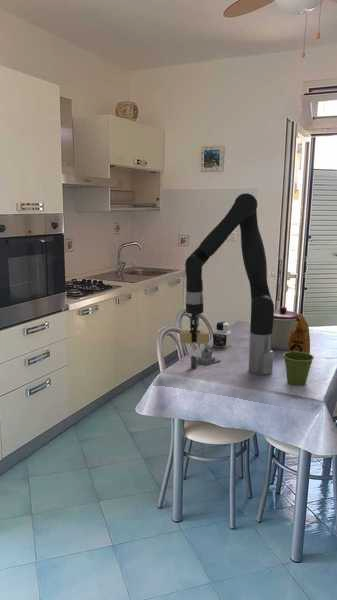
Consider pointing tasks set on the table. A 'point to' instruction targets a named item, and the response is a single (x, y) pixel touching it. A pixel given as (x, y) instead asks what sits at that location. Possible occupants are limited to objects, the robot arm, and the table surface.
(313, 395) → the table surface
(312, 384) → the table surface
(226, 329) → the medicine bottle
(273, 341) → the canister
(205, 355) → the hub
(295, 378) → the plant pot
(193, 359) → the stand rod
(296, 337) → the coffee package
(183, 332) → the yellow oblong bowl
